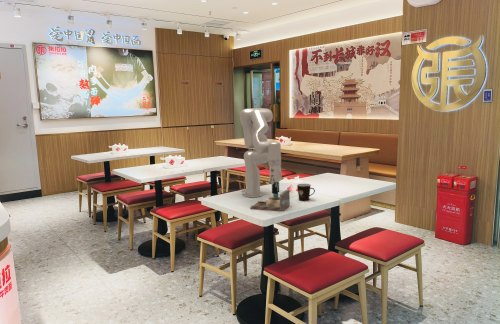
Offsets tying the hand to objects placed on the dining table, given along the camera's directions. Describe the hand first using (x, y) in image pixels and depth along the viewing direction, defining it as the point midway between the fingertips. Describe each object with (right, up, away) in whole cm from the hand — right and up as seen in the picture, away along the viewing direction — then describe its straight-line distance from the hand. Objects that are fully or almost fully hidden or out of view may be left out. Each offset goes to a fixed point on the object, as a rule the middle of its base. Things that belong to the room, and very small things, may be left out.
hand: (275, 192), depth 229 cm
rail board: (-3, -9, +3) cm, 10 cm away
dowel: (0, -3, 0) cm, 3 cm away
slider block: (0, -8, +1) cm, 8 cm away
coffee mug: (+20, -7, +17) cm, 27 cm away
